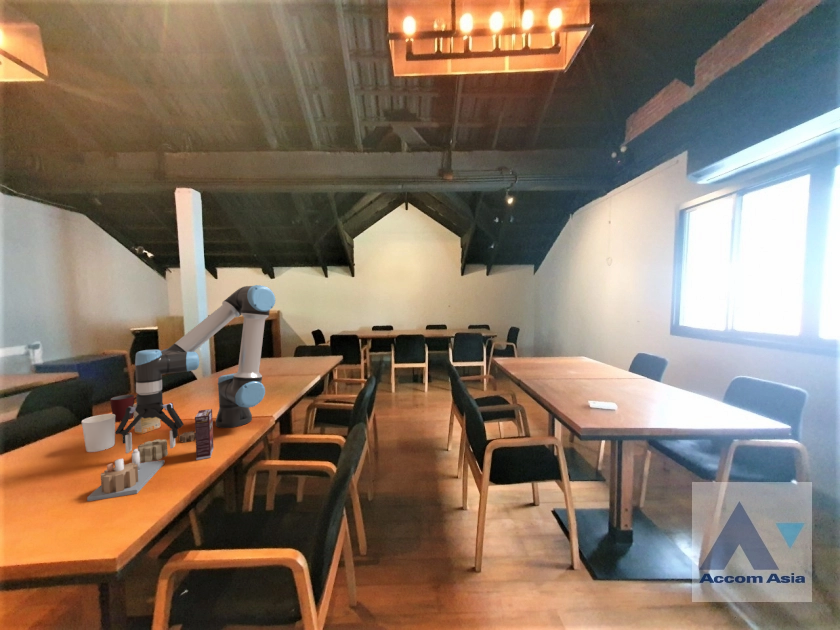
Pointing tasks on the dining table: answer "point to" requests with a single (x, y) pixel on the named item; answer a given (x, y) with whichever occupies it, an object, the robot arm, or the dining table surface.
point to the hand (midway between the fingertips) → (151, 449)
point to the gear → (187, 436)
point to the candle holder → (99, 432)
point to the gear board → (136, 488)
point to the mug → (121, 406)
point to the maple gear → (153, 450)
